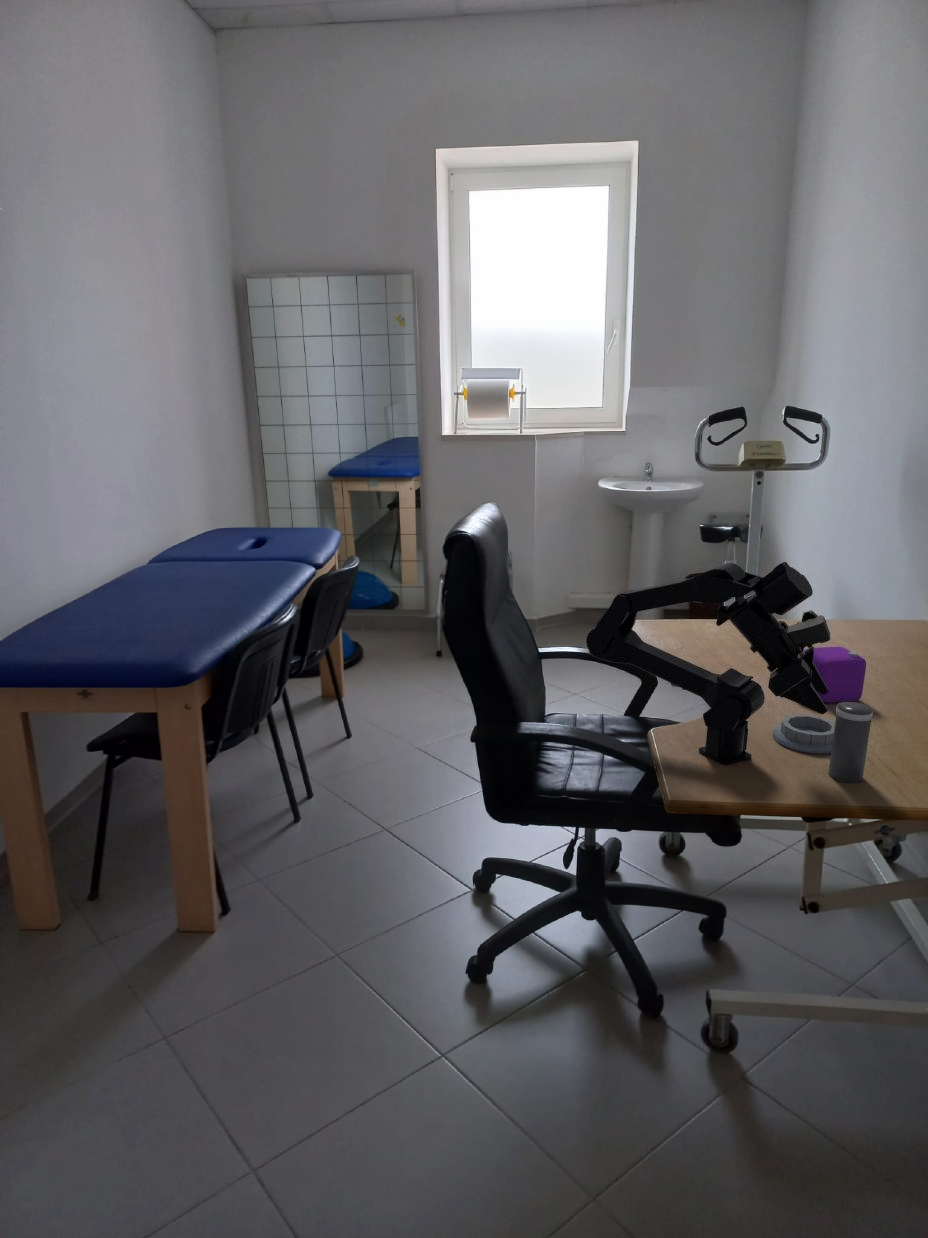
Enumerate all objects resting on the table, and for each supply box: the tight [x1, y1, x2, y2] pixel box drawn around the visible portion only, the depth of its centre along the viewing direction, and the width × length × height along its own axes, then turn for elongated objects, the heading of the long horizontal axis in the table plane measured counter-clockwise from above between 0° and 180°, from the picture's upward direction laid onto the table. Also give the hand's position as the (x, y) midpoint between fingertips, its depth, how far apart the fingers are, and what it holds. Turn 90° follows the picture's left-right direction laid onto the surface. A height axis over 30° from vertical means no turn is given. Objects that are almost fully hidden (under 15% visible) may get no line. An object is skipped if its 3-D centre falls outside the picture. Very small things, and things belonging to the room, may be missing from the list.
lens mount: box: [772, 714, 835, 755], centre depth 153 cm, size 12×12×3 cm
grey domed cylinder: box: [827, 701, 874, 784], centre depth 138 cm, size 5×5×12 cm
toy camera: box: [805, 646, 867, 704], centre depth 173 cm, size 11×14×10 cm
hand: (825, 702), depth 138 cm, fingers open, 9 cm apart
